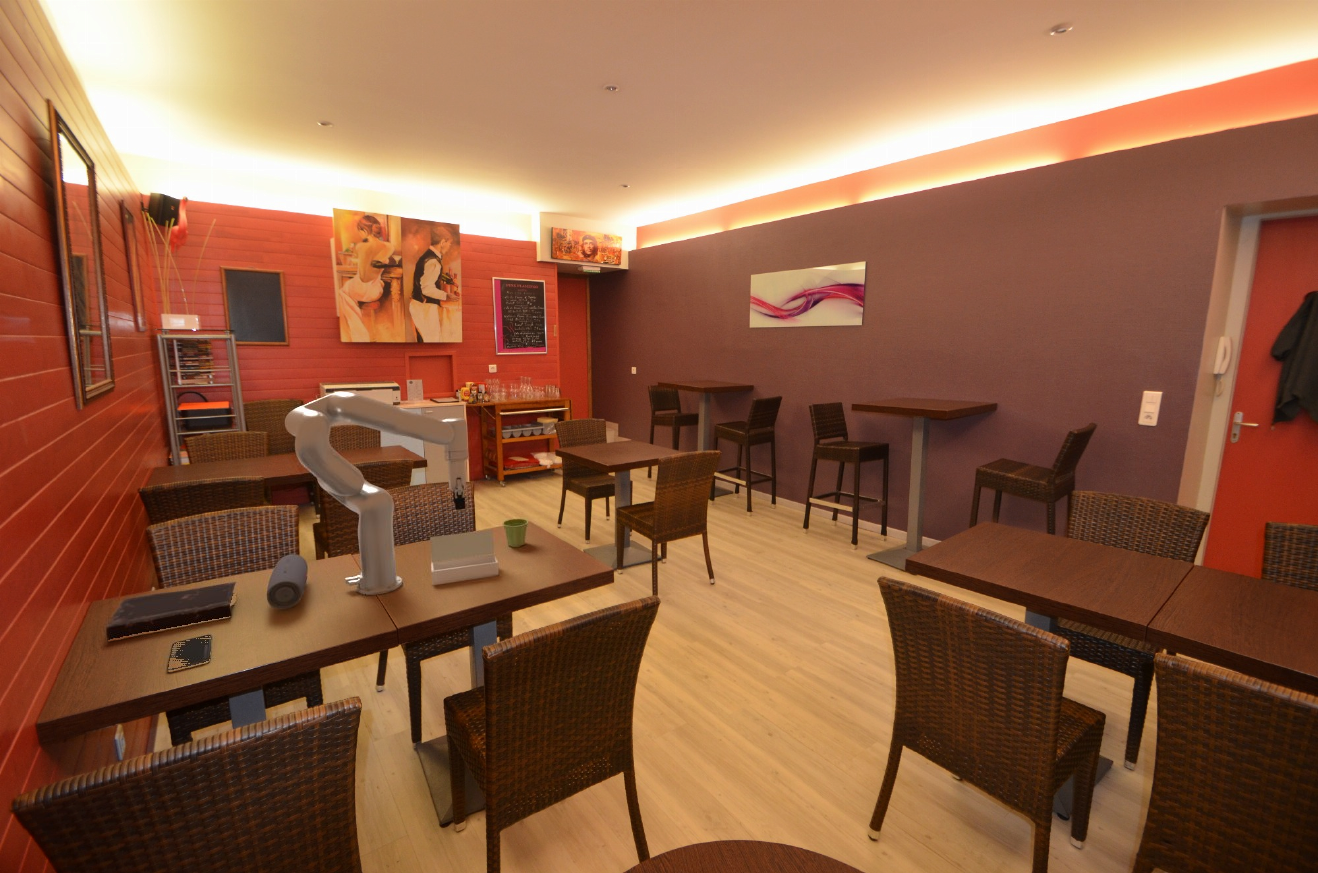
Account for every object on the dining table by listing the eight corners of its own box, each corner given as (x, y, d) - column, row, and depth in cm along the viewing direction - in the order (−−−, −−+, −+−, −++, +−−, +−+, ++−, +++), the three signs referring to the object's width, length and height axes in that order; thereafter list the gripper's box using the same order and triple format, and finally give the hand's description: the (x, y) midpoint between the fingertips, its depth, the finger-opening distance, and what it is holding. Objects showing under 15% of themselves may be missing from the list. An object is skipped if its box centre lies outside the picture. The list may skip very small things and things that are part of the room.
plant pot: (502, 541, 216) (502, 519, 215) (528, 539, 219) (527, 517, 218) (503, 550, 208) (503, 527, 206) (530, 547, 210) (529, 525, 209)
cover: (430, 537, 185) (430, 537, 186) (431, 562, 184) (431, 562, 184) (492, 529, 193) (492, 529, 193) (494, 553, 191) (494, 553, 192)
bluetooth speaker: (306, 609, 161) (302, 576, 159) (266, 617, 156) (262, 582, 155) (311, 580, 181) (308, 550, 179) (276, 585, 176) (272, 555, 175)
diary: (231, 621, 156) (229, 604, 155) (108, 646, 143) (104, 627, 142) (238, 594, 171) (236, 578, 170) (127, 614, 158) (124, 598, 157)
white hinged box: (432, 585, 177) (431, 571, 176) (431, 575, 184) (431, 562, 184) (498, 575, 185) (498, 562, 184) (495, 566, 192) (494, 553, 191)
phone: (166, 671, 129) (172, 642, 141) (166, 675, 130) (173, 647, 142) (210, 660, 134) (212, 633, 146) (210, 664, 134) (213, 637, 146)
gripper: (443, 451, 197) (446, 500, 200) (445, 460, 181) (449, 514, 184) (466, 449, 200) (468, 498, 203) (470, 459, 184) (473, 511, 187)
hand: (459, 505), depth 193 cm, fingers open, 7 cm apart
